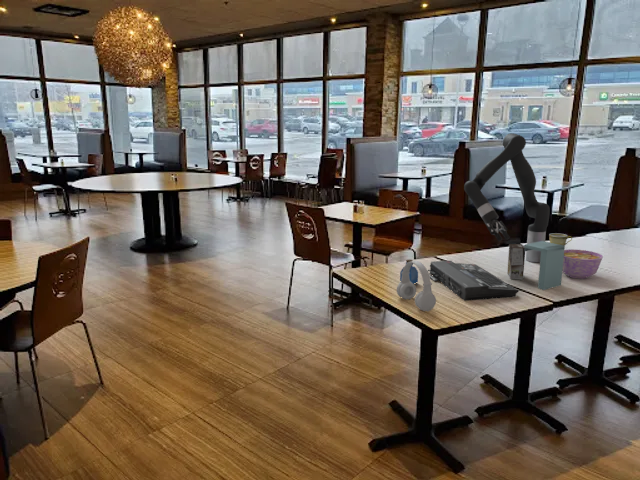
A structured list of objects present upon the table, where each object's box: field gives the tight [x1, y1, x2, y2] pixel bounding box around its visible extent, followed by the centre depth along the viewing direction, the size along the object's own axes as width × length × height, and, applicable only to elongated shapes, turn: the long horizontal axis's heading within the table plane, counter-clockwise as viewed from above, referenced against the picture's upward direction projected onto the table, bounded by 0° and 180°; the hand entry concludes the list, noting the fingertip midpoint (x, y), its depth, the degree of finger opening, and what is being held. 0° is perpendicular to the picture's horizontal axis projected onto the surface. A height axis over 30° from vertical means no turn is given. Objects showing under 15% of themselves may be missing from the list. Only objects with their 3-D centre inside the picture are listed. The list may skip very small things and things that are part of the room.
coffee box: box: [507, 243, 526, 280], centre depth 244 cm, size 9×6×16 cm
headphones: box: [396, 260, 437, 312], centre depth 209 cm, size 20×8×19 cm, turn 21°
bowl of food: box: [562, 249, 604, 280], centre depth 243 cm, size 20×20×12 cm
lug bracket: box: [523, 241, 566, 291], centre depth 231 cm, size 13×12×20 cm
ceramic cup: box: [548, 232, 573, 247], centre depth 292 cm, size 13×10×10 cm
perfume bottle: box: [399, 259, 419, 284], centre depth 238 cm, size 6×6×12 cm
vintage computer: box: [427, 260, 520, 302], centre depth 235 cm, size 43×29×8 cm
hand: (504, 239), depth 250 cm, fingers open, 8 cm apart
